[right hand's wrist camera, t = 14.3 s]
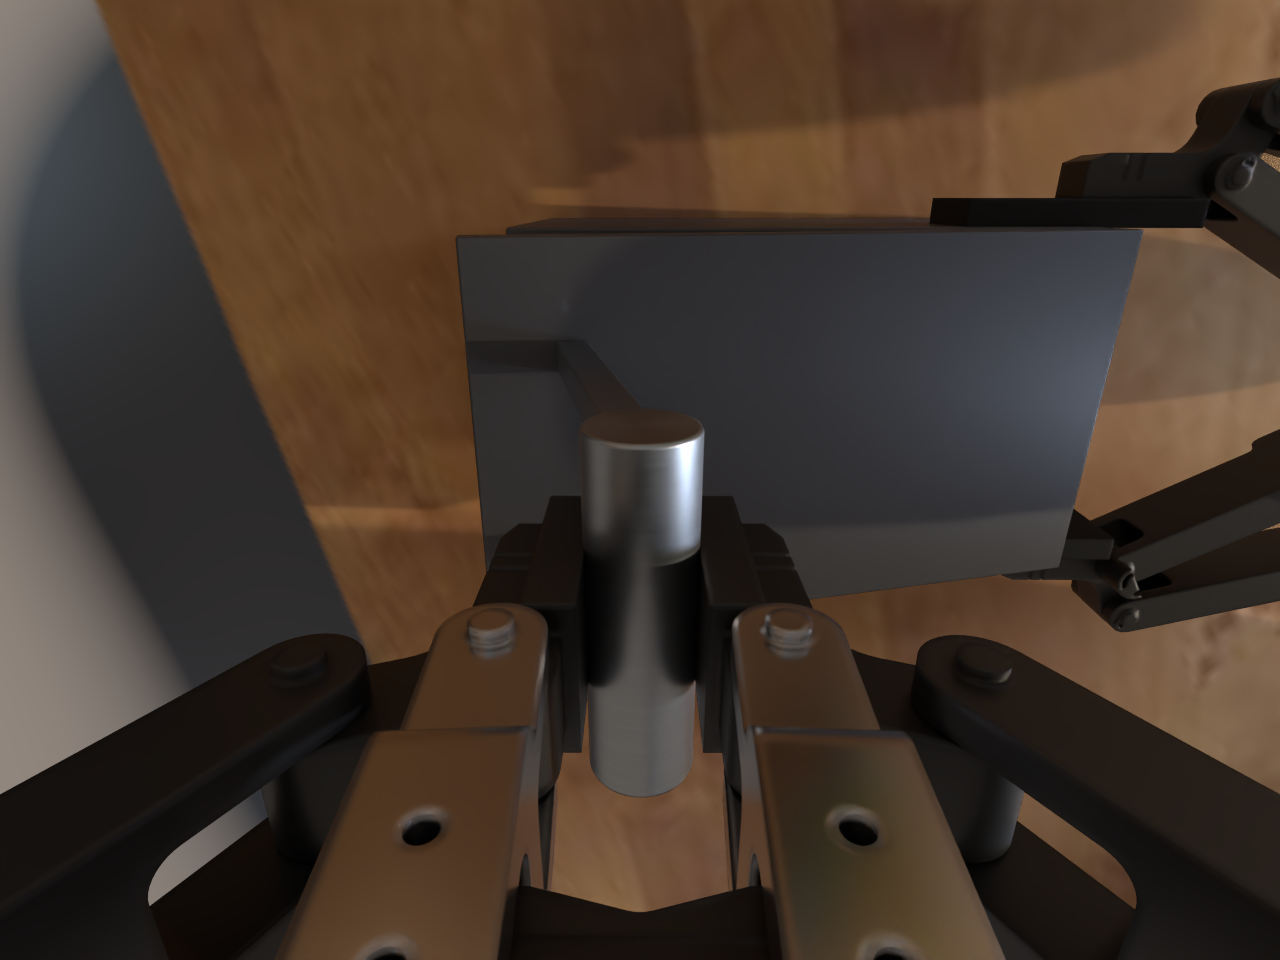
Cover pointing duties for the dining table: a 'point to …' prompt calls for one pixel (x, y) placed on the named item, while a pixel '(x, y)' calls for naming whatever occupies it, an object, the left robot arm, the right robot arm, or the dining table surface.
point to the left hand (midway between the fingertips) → (921, 385)
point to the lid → (780, 420)
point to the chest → (735, 225)
